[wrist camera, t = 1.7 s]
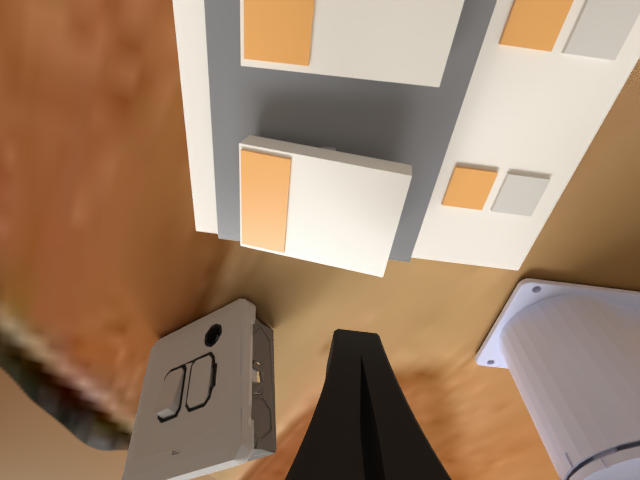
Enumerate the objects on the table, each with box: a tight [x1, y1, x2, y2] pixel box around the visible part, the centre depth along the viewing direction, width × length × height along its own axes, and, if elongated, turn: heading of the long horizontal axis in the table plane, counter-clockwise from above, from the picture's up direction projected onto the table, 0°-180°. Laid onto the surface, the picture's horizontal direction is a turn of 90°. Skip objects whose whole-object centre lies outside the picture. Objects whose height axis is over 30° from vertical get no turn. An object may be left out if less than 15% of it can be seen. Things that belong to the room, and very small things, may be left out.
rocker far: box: [239, 135, 412, 277], centre depth 13 cm, size 6×4×1 cm
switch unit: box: [173, 0, 640, 270], centre depth 14 cm, size 18×16×4 cm
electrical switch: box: [122, 299, 276, 480], centre depth 22 cm, size 9×5×9 cm, turn 124°
